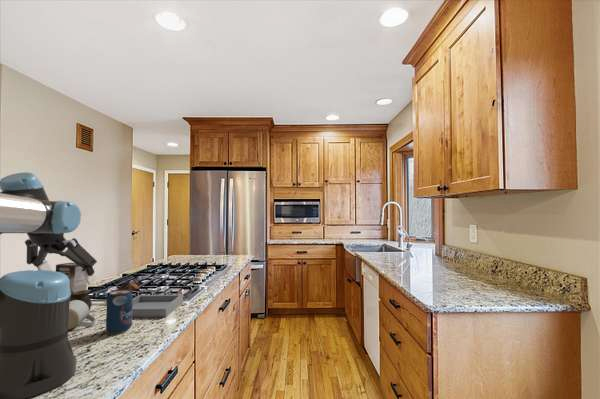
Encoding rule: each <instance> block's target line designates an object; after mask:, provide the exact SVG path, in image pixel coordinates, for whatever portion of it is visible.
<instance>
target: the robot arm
mask: <svg viewBox="0 0 600 399" xmlns="http://www.w3.org/2000/svg"><path fill="white" fill-rule="evenodd" d="M0 190H1V191H0V236H1V235H2V234H26V235H27V236H28V239H26V240H25V241H24V244H25V245H26V246H25V247H26V264H27V265H33V266H34V267H36V268H37V270H34V269H33V270H32V269H30V270H28V269H27V270H18V271H12V272H9V273H5V274H3V275H2V276H1V277H0V399H28V398H33V397H34V396H39V395H41V394H43V393H46V392H49V391H51V390H53V389H55V388H57V387H59V386H61V385H62V384H65V382H67V381H68V380H70V379H71V378H72V377H73V376H74V375H75V374H76V372H77V358H76V356H75V355H74V351H73V348H72V345H71V343H70V340H69V330H68V324H69V304H70V295H71V291H70V281H69V278H68V277H67V275H65V274H63V273H60V272H56V270H55V271H54V270H53V268H52V267H51V264H50V263H49V262H48V260H46V257H47V256H48V254H51V255H52V254H56V255H59V256H61V257H65V258H67V259H68V260H70V261H71V262H72V263H76V264H77V265H79V266H80V267H82V269H81V271H82V273H83V275H84V277H85V279H86V281H87V286H91V285H92V284H93V283H94V282H95V281H96V280H97V277H96V275H95V269H94V268H93V266H95V265H96V264H97V262H98V261H97V260H96V258H94V256H92V255H91V254H90V253H89V252H88V251H87V250H86V249H85V248H84V247H83V246H82V245H81V244H80V243H79V242H78V240H77V239H76V238H75V237H73V238H72V239H69V240H68V239H67V238H65V236H64V235H65V234H68V233H69V234H70V233H72V232H74V231H75V230H77V228H79V225H80V224H81V221H82V220H81V219H82V218H81V217H82V213H81V209H80V207H79V206H78V205H77V204H76V203H75V202H73V201H67V200H65V201H63V200H50V199H49V197H48V195H47V193H46V191H45V189H44V185H43V184H42V182H41V181H40V179H39V177H38V176H37V175H36V174H35V173H32V172H27V171H26V172H17V173H12V174H9V175H6V176H4V177H2V178H0Z"/></svg>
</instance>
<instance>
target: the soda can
mask: <svg viewBox="0 0 600 399" xmlns="http://www.w3.org/2000/svg"><path fill="white" fill-rule="evenodd" d="M133 295H134V294H133V293H132V291H131V290H128V289H123V290H118V289H115V290H113V291H110V292H109V294H108V296H107V298H106V314H105V316H106V317H105V318H106V319H105V330H106V331H107V333H108V334H111V335H117V334H118V335H119V334H123V333H125V332H127V331H129V330H130V329H131V327H132V325H133V318H132V300H133V298H134V296H133Z"/></svg>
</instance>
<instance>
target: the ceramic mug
mask: <svg viewBox="0 0 600 399" xmlns="http://www.w3.org/2000/svg"><path fill="white" fill-rule="evenodd" d="M89 312H90V310H89V308H88V306H87V304H86V303H85V302H83V301H80V300H73V301H70V304H69V324H68V331H70V330H72V329H74V328H76V327H77V326H79V327H85V328H89V327H90V328H91V327H92V326H94V325H95V323H96V321H97V319H96V317H95V316H94V315H92V314H89ZM85 320H89V321H90V322H89V321H85Z"/></svg>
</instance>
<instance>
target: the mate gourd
mask: <svg viewBox="0 0 600 399" xmlns="http://www.w3.org/2000/svg"><path fill="white" fill-rule="evenodd" d="M70 291H71V290H70ZM71 292H72V293H71V295H70V297H71V298H70V301H73V300H80V301H83V302H85V303H86V304H87V306H88V308H89V311H91V308H92V304H93V303H92V299H91V298H90V290H88V289H87V290H80V291H75V292H73V291H71Z"/></svg>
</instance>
